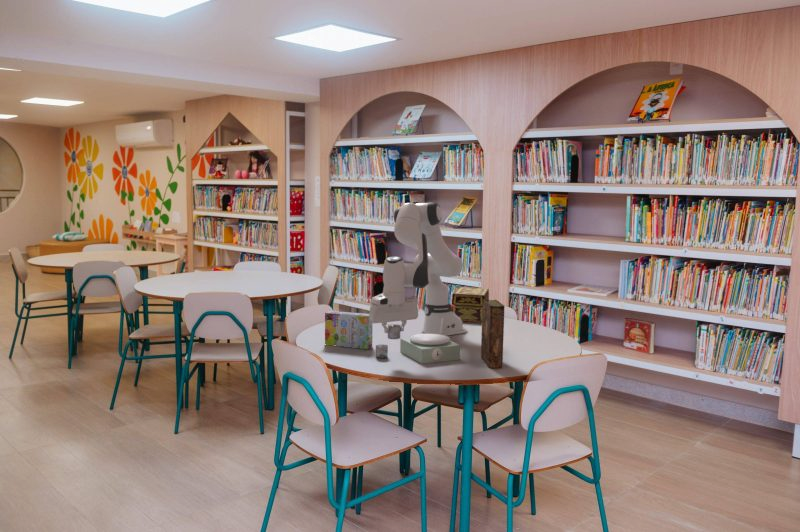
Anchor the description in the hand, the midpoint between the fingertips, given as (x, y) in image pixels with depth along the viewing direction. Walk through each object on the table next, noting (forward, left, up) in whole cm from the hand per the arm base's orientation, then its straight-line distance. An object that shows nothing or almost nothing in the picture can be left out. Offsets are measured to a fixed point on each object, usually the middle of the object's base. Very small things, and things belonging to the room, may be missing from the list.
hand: (394, 331), depth 256 cm
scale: (-19, -6, -13) cm, 24 cm away
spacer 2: (0, 0, -2) cm, 2 cm away
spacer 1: (+1, -11, -13) cm, 17 cm away
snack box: (+7, -34, -13) cm, 37 cm away
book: (-37, +14, -13) cm, 42 cm away
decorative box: (-78, -69, -14) cm, 105 cm away
